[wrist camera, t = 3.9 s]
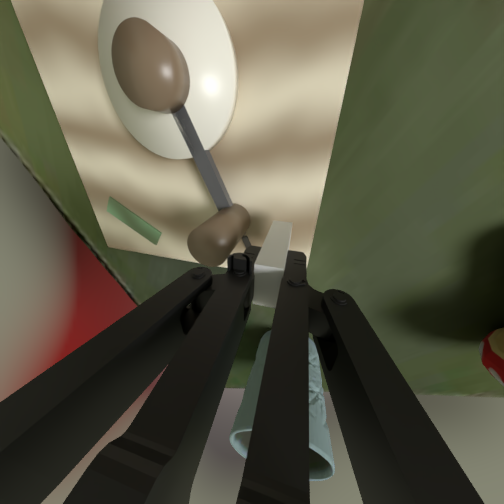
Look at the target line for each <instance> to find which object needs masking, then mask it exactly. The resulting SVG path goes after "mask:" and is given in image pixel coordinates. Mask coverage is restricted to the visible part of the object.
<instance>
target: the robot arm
mask: <svg viewBox="0 0 504 504" xmlns="http://www.w3.org/2000/svg"><path fill="white" fill-rule="evenodd" d="M291 230H292V222H283V221H273V223H272V225H271V227H270V230H269V232H268V234H267V236H266V239H265V241H264V243H263V245H262V247H259V246H252V245H251V246H249V247H247V248H246V249H245V251H244V253H233V254H231V255H229V256H228V257H227V266H228V271H227V272H226V274H217V275H212V272H211V270H210V269H208V268H205V267H197V268H193V269H191V270H189V271H188V272H186V273H185V274H183V275H182V276H181V277H179V278H178V279H176V280H175V281H173V282H172V283H171V284H169V285H168V286H166V287H165V288H163V289H162V290H161V291H159V292H158V293H156V294H155V295H153V296H152V297H151V298H149V299H148V300H146V301H145V302H143V303H142V304H140V305H139V306H138V307H136V308H135V309H133V310H132V311H130V312H129V313H128V314H126V315H125V316H123V317H122V318H120V319H119V320H118V321H116V322H115V323H113V324H112V325H110V326H109V327H108V328H106V329H105V330H103V331H102V332H100V333H99V334H98V335H96V336H95V337H93V338H92V339H90V340H89V341H88V342H86V343H85V344H83V345H82V346H81V347H79V348H77V349H76V350H75V351H73V352H72V353H70V354H69V355H67V356H66V357H65V358H63V359H62V360H60V361H59V362H57V363H56V364H55V365H53V366H52V367H50V368H49V369H47V370H46V371H45V372H43V373H42V374H40V375H39V376H37V377H36V378H34V379H33V380H32V381H30V382H29V383H27V384H26V385H24V386H23V387H22V388H20V389H19V390H17V391H16V392H14V393H13V394H11V395H10V396H9V397H8V398H6V399H5V400H3V401H1V402H0V504H41V502H42V501H43V500H44V499H45V498H46V497H47V496H48V495H49V494H50V493H51V492H52V491H53V490H54V489H55V488H56V487H57V486H58V485H59V484H60V483H61V482H62V480H63V479H64V478H65V477H66V476H67V475H68V474H69V473H70V471H71V470H72V469H73V468H74V467H75V466H76V465H77V464H78V463H79V462H80V461H81V460H82V458H83V457H84V456H85V455H86V454H87V453H88V452H89V451H90V450H91V449H92V447H93V446H94V445H95V444H96V443H97V442H98V441H99V440H100V439H101V438H102V436H103V435H104V434H105V433H106V432H107V431H108V430H109V429H110V428H111V427H112V425H113V424H114V423H115V422H116V421H117V420H118V419H119V418H120V417H121V416H122V415H123V413H124V412H125V411H126V410H127V409H128V408H129V407H130V406H131V405H132V403H133V402H134V401H135V400H136V399H137V398H138V397H139V396H140V395H141V394H142V393H143V391H144V390H145V389H146V388H147V387H148V386H149V385H150V384H151V383H152V382H153V380H154V379H155V378H156V377H157V376H158V375H159V374H160V373H161V372H162V371H163V369H164V368H165V367H166V366H167V365H168V366H167V368H166V369H165V371H164V372H163V374H162V376H161V377H160V379H159V380H158V382H157V384H156V385H155V387H154V388H153V390H152V392H151V393H150V395H149V396H148V398H147V400H146V401H145V403H144V404H143V406H142V407H141V409H140V411H139V412H138V414H137V415H136V417H135V419H134V420H133V422H132V423H131V425H130V426H129V428H128V429H127V430H126V432H125V433H124V434H123V435H122V436H120V437H119V438H117V439H115V440H113V441H112V442H110V443H108V444H107V445H106V446H105V447H104V448H103V449H102V450H101V451H100V452H99V453H98V454H97V456H96V457H95V458H94V460H93V461H92V462H91V463H90V465H89V466H88V467H87V469H86V471H85V472H84V473H83V475H82V476H81V478H80V479H79V481H78V482H77V484H76V485H75V487H74V488H73V489H72V491H71V493H70V494H69V495H68V497H67V498H66V500H65V501H64V503H63V504H189V499H190V492H191V488H192V484H193V480H194V477H195V474H196V471H197V468H198V465H199V462H200V459H201V456H202V453H203V450H204V447H205V444H206V442H207V438H208V436H209V433H210V429H211V427H212V424H213V421H214V417H215V415H216V412H217V409H218V406H219V403H220V400H221V397H222V394H223V391H224V388H225V385H226V382H227V379H228V376H229V373H230V370H231V367H232V364H233V361H234V358H235V355H236V352H237V349H238V346H239V344H240V341H241V338H242V335H243V332H244V329H245V326H246V323H247V320H248V317H249V314H250V311H251V302H252V299H253V304H257V305H262V306H267V307H272V308H276V309H275V314H274V319H273V324H272V329H271V334H270V340H269V345H268V350H267V355H266V360H265V365H264V370H263V375H262V380H261V386H260V391H259V396H258V401H257V406H256V411H255V416H254V421H253V426H252V432H251V437H250V442H249V447H248V452H247V457H246V462H245V467H244V473H243V477H242V482H241V486H240V490H239V493H238V498H237V502H236V504H310V492H309V491H310V489H309V332H310V333H312V334H313V339H314V342H315V346H316V349H317V352H318V356H319V359H320V362H321V366H322V369H323V372H324V375H325V379H326V382H327V385H328V389H329V392H330V395H331V398H332V402H333V405H334V408H335V412H336V415H337V418H338V422H339V425H340V428H341V431H342V435H343V438H344V441H345V445H346V448H347V451H348V454H349V458H350V461H351V464H352V468H353V471H354V474H355V478H356V480H357V484H358V487H359V491H360V494H361V497H362V501H363V504H484V503H483V501H482V499H481V498H480V496H479V495H478V493H477V491H476V490H475V488H474V487H473V485H472V483H471V482H470V480H469V479H468V477H467V476H466V474H465V473H464V471H463V469H462V468H461V467H460V465H459V463H458V462H457V460H456V459H455V457H454V455H453V454H452V452H451V451H450V449H449V448H448V446H447V444H446V443H445V441H444V440H443V438H442V437H441V435H440V434H439V432H438V430H437V429H436V427H435V426H434V424H433V423H432V421H431V419H430V418H429V416H428V415H427V413H426V412H425V410H424V409H423V407H422V405H421V404H420V403H419V401H418V399H417V398H416V396H415V394H414V393H413V391H412V390H411V388H410V387H409V385H408V383H407V382H406V380H405V379H404V377H403V376H402V374H401V373H400V371H399V369H398V368H397V366H396V365H395V363H394V362H393V360H392V358H391V357H390V355H389V354H388V352H387V351H386V349H385V348H384V346H383V344H382V343H381V341H380V340H379V338H378V337H377V335H376V333H375V332H374V330H373V329H372V327H371V326H370V324H369V323H368V321H367V319H366V318H365V316H364V315H363V313H362V312H361V310H360V308H359V307H358V305H357V304H356V302H355V301H354V299H353V298H352V297H351V296H350V295H349V294H347V293H345V292H343V291H341V290H336V289H330V290H327V291H325V292H324V293H321V292H319V291H317V290H314V289H313V288H312V287H310V286H309V285H308V282H307V280H306V261H307V257H306V255H305V254H304V252H299V251H292V250H289V245H290V237H291ZM190 303H191V304H190ZM189 304H190V305H189ZM188 305H189V306H188Z"/></svg>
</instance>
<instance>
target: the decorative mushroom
mask: <svg viewBox="0 0 504 504" xmlns="http://www.w3.org/2000/svg"><path fill="white" fill-rule="evenodd" d="M479 352H480V355H481V359H482V363H483V365H484V366H485V367H486V369H487V370H488V371H489V372H490V374H491V375H492V376H493V377H494V378H496V379H497V380H498V381H499V382H500V383H501V384H502V385H503V386H504V327H503V328H500V329H497V330H494V331H492V332H490V333H489V334H488V335H487V336H486V337H485V338H484V339H483V340H482V341H481V342H480V347H479Z"/></svg>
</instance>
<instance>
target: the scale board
mask: <svg viewBox="0 0 504 504" xmlns="http://www.w3.org/2000/svg"><path fill="white" fill-rule="evenodd" d="M103 1H104V0H11V2H12V4H13V7H14V10H15V12H16V15H17V17H18V20H19V22H20V25H21V27H22V30H23V32H24V35H25V37H26V40H27V43H28V45H29V48H30V50H31V53H32V55H33V58H34V60H35V63H36V65H37V68H38V70H39V73H40V75H41V78H42V81H43V83H44V86H45V88H46V91H47V93H48V96H49V98H50V101H51V103H52V106H53V108H54V111H55V114H56V116H57V119H58V121H59V124H60V126H61V129H62V131H63V134H64V136H65V139H66V141H67V144H68V146H69V149H70V152H71V154H72V157H73V159H74V162H75V164H76V167H77V169H78V172H79V174H80V177H81V179H82V182H83V185H84V187H85V190H86V192H87V195H88V197H89V200H90V202H91V205H92V207H93V210H94V212H95V215H96V217H97V220H98V223H99V225H100V228H101V230H102V233H103V235H104V238H105V240H106V243H107V245H108V247H111V248H117V249H122V250H128V251H134V252H140V253H145V254H151V255H157V256H162V257H168V258H174V259H179V260H185V261H191V262H196V263H199V262H198V261H197V260H195V259H194V258H193V256H192V255H191V254H190V252H189V249H188V246H187V239H188V236H189V234H190V233H191V232H192V231H193V230H194V229H195V228H197V227H198V226H199V225H201V224H202V223H203V222H205V221H206V220H208V219H209V218H210V217H212V216H213V215H214V214H216V213H217V212H218V209H217V207H216V205H215V203H214V201H213V199H212V196H211V194H210V192H209V190H208V188H207V186H206V184H205V182H204V180H203V178H202V176H201V174H200V171H199V169H198V167H197V165H196V163H195V161H194V159H193V158H188V159H170V158H166V157H162V156H160V155H157V154H155V153H154V152H152V151H150V150H148V149H147V148H146V147H144V146H143V145H142V144H141V143H140V142H138V141H137V140H136V139H135V138H134V137H133V135H132V134H131V133H130V132H129V131H128V129H127V128H126V127H125V125H124V124H123V123H122V121H121V119H120V118H119V116H118V114H117V113H116V111H115V109H114V107H113V105H112V102H111V100H110V98H109V95H108V93H107V90H106V87H105V84H104V80H103V76H102V72H101V66H100V61H99V51H98V27H99V18H100V12H101V8H102V4H103ZM213 2H214V3H215V5H216V6H217V8H218V9H219V11H220V13H221V15H222V17H223V18H224V20H225V22H226V24H227V27H228V29H229V32H230V35H231V37H232V41H233V45H234V48H235V53H236V58H237V65H238V96H237V103H236V108H235V112H234V115H233V118H232V121H231V124H230V126H229V128H228V130H227V132H226V133H225V135H224V137H223V138H222V139H221V141H220V142H219V143H218V144H217V145H216V146H215V147H214V148H213V149H212V150H210V153H211V155H212V158H213V160H214V162H215V164H216V167H217V169H218V171H219V173H220V176H221V178H222V180H223V182H224V185H225V187H226V189H227V191H228V194H229V196H230V198H231V201H232V203H233V204H234V203H235V204H239V205H241V206H243V207H244V208H245V209H246V210H247V211H248V213H249V215H250V219H251V223H250V226H249V228H248V229H247V231H246V234H245V235H244V237H242V238H241V239H240V241H239V242H238V244H237V245H236V246H235V248H234V249H233V251H232V252H231V253H230V255H231V254H233V253H244V251H245V249H246V248H247V247H249V246H251V245H252V246H259V247H262V245H263V243H264V241H265V239H266V236H267V234H268V232H269V230H270V227H271V225H272V223H273V221H283V222H292V230H291V237H290V245H289V250H292V251H299V252H304V254H305V255H306V257H307V261H306V269H307V264H308V260H309V255H310V250H311V246H312V241H313V236H314V232H315V227H316V222H317V218H318V213H319V208H320V204H321V199H322V194H323V190H324V185H325V180H326V176H327V171H328V166H329V162H330V157H331V152H332V148H333V143H334V138H335V134H336V129H337V124H338V120H339V115H340V110H341V106H342V101H343V96H344V92H345V87H346V82H347V78H348V73H349V68H350V64H351V59H352V54H353V50H354V45H355V40H356V36H357V31H358V26H359V22H360V17H361V12H362V8H363V3H364V0H213ZM219 267H225V268H228V266H227V259H226V261H225V262H224V263H223V264H221V265H219Z"/></svg>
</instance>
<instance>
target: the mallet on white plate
mask: <svg viewBox="0 0 504 504" xmlns="http://www.w3.org/2000/svg"><path fill="white" fill-rule="evenodd" d="M98 51H99V61H100V66H101V72H102V76H103V80H104V84H105V87H106V90H107V93H108V95H109V98H110V100H111V102H112V105H113V107H114V109H115V111H116V113H117V114H118V116H119V118H120V119H121V121H122V123H123V124H124V125H125V127H126V128H127V129H128V131H129V132H130V133H131V134H132V135H133V137H134V138H135V139H136V140H137V141H138V142H140V143H141V144H142V145H143V146H144V147H146V148H147V149H148V150H150V151H152V152H154V153H155V154H157V155H160V156H162V157H166V158H170V159H188V158H193V159H194V161H195V163H196V165H197V167H198V169H199V171H200V174H201V176H202V178H203V180H204V182H205V184H206V186H207V188H208V190H209V192H210V194H211V196H212V199H213V201H214V203H215V205H216V207H217V209H218V212H217V213H216V214H214V215H213V216H212V217H210V218H209V219H208V220H206V221H205V222H203V223H202V224H201V225H199V226H198V227H197V228H195V229H194V230H193V231H192V232H191V233H190V234H189V236H188V239H187V246H188V249H189V252H190V254H191V255H192V256H193V258H194V259H195V260H197V261H198V262H199V263H201V264H203V265H205V266H209V267H216V266H219V265H221V264H223V263H224V262H225V261H226V259H227V257H228V256H229V255H230V253H231V252H232V251H233V249H234V248H235V246H236V245H237V244H238V242H239V241H240V239H241V238H242V237H244V235H245V234H246V231H247V229H248V228H249V226H250V223H251V219H250V215H249V213H248V211H247V210H246V209H245V208H244V207H243V206H241V205H239V204H235V203H234V204H233V203H232V201H231V198H230V196H229V194H228V191H227V189H226V187H225V185H224V182H223V180H222V178H221V176H220V173H219V171H218V169H217V167H216V164H215V162H214V160H213V158H212V155H211V153H210V150H212V149H213V148H214V147H215V146H216V145H217V144H218V143H219V142H220V141H221V139H222V138H223V137H224V135H225V133H226V132H227V130H228V128H229V126H230V124H231V121H232V118H233V115H234V112H235V108H236V103H237V96H238V65H237V58H236V53H235V48H234V45H233V41H232V37H231V35H230V32H229V29H228V27H227V24H226V22H225V20H224V18H223V17H222V15H221V13H220V11H219V9H218V8H217V6H216V5H215V3H214V2H213V0H104V1H103V4H102V8H101V12H100V18H99V27H98Z"/></svg>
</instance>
